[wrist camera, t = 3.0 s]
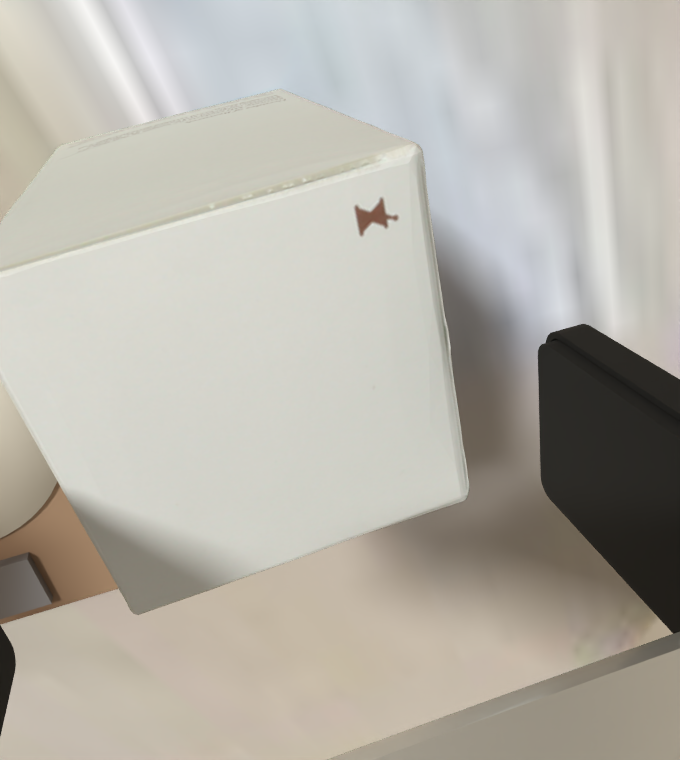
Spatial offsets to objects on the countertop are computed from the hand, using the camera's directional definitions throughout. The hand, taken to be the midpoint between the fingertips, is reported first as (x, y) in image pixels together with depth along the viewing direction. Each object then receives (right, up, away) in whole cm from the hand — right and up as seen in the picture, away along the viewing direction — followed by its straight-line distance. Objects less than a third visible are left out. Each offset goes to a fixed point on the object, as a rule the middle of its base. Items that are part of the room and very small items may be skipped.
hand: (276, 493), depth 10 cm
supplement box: (-4, +7, +12) cm, 14 cm away
